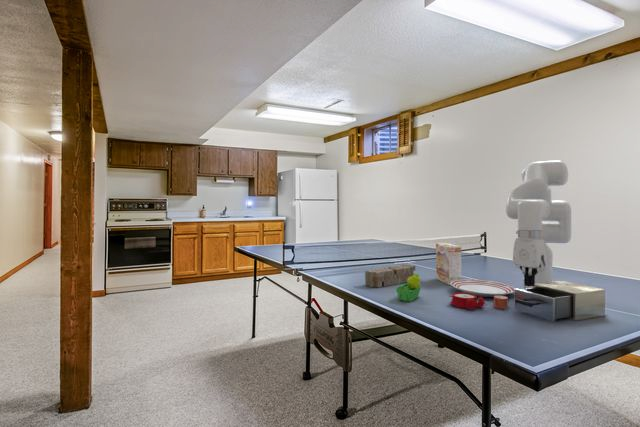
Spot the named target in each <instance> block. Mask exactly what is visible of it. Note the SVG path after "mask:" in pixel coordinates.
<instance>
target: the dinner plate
mask: <svg viewBox="0 0 640 427" xmlns="http://www.w3.org/2000/svg"><path fill="white" fill-rule="evenodd" d="M450 284H451V285H450V286H451V287H452V288H453V289H455V290H457V291H459V292H464V293H471V294H474V295H476V297H482V298H494V296H507V295H511V294H514V293H515V289H516V288H515V287H514V286H511V285H509V284H507V283H506V284H505V283H503V282H498V281H492V280H486V279H485V280H484V279H461V280H455V281H452V282H451V283H450Z"/></svg>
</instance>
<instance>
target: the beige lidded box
mask: <svg viewBox="0 0 640 427" xmlns="http://www.w3.org/2000/svg"><path fill="white" fill-rule="evenodd" d="M535 287H540V288H544V289H549V290H553V291H557V292H561V293H566V294H570V295H573V316H571V317H565V318H564V319H567V320H571V321H575V322H576V321H582V320H588V319H593V318H598V317H603V316H606V289H605V288H600V287H594V286H590V285H585V284H581V283H575V282H570V281H566V280H552V282H544V283H536V284H535V285H534V286H533V288H535Z"/></svg>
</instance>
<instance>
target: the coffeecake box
mask: <svg viewBox="0 0 640 427" xmlns="http://www.w3.org/2000/svg"><path fill="white" fill-rule="evenodd" d="M435 271H436V272H435V279H436V280H438V281H440V282H442V283H444V284H445V285H448V286H451V284H450V283H451V282H452V281H455V280H462V246H460V245H457V244H452V243H448V242H437V243H435Z"/></svg>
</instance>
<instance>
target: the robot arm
mask: <svg viewBox="0 0 640 427" xmlns="http://www.w3.org/2000/svg"><path fill="white" fill-rule="evenodd" d="M568 170H569V169H568V166H567V164H566V163H565V162H564V161H563V160H543V161H534V162H531V163H529V164H528V165H527V166H526V168H524V169H523V170H522V171H521V180H522V181H523V183H521V184H519V185H518V186H516V187H514V188H513V189H512V190H511V191H510V193H509V194H508V196H507V200H506V205H505V207H506V208H505V212H506V216H507V217H508V218H509V219H512V220H517V230H516V231H515V233H516V235H517V237H515V240H514V244H513V250H512V263H513V265H515V267H516V268H517V269H520V270H521V273H522V275H523V278H522V281H523V286H524V287H525V289H527V288H533V286H534V285H535V284H536V283H544V282H552V281H553V254H554V253H553V251H552V249H551V247H549V245H548V244H567V243H570V241H571V239H572V207H571V203H570V202H568V200H563V199H558V200H557V199H552V190H551V187H557V186H564V185H566V184H567V183H568V180H569V171H568Z"/></svg>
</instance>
